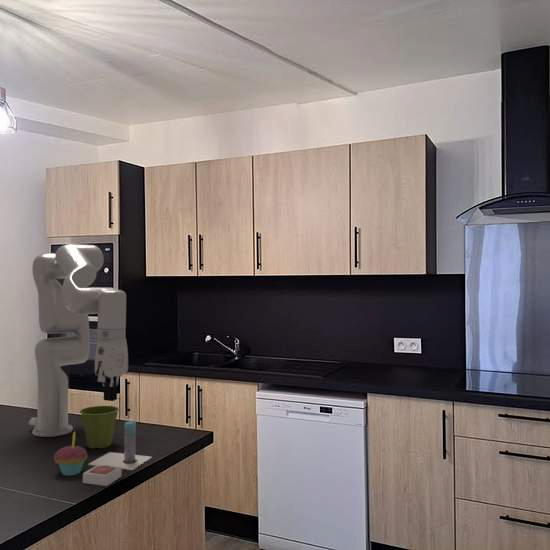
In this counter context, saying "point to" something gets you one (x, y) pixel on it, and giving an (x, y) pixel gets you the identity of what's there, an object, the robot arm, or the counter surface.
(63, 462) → the cupcake
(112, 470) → the button housing
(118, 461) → the paper
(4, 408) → the counter surface
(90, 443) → the plant pot
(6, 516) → the counter surface
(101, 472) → the button
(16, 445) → the counter surface
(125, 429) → the marker
